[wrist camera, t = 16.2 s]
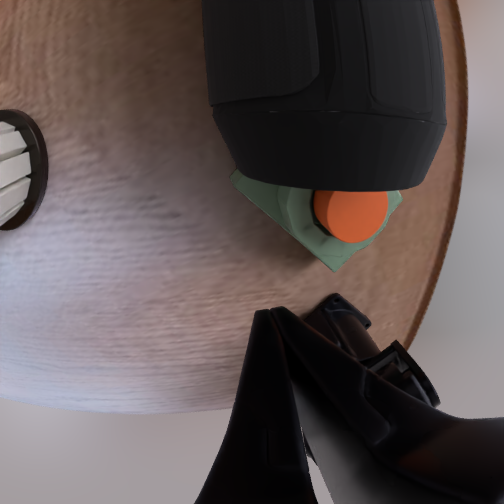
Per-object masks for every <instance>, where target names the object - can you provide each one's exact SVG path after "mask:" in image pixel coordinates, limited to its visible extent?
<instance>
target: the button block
mask: <svg viewBox="0 0 504 504" xmlns="http://www.w3.org/2000/svg"><path fill="white" fill-rule="evenodd" d="M230 180H231V182H232V184H233V186H234V187H235V188H236V189H237V190H238V191H239V192H241V193H242V194H243V195H244V196H246V197H247V198H248V199H249V200H250V201H252V202H253V203H254V204H255V205H256V206H258V207H259V208H260V209H261V210H262V211H264V212H265V213H266V214H267V215H268V216H270V217H271V218H272V219H273V220H274V221H276V222H277V223H278V224H279V225H280V226H281V227H283V228H284V229H285V230H286V231H287V232H288V233H290V234H291V235H292V236H293V237H294V238H295V239H297V240H298V241H299V242H300V243H301V244H302V245H303V246H305V247H306V248H307V249H308V250H309V251H310V252H311V253H313V254H314V255H315V256H316V257H317V258H318V259H319V260H321V261H322V262H323V263H324V264H325V265H326V266H327V267H328V268H330V269H331V270H332V271H333V272H336V271H337V270H338V269H339V268H340V267H341V266H342V265H343V264H344V263H345V262H346V261H347V260H348V259H349V258H350V257H351V256H352V255H353V254H354V253H355V252H356V251H358V250H360V249H363V248H365V247H366V246H368V245H369V244H370V243H371V242H372V241H373V239H374V238H375V237H376V236H377V235H378V234H379V233H380V232H381V231H382V230H383V229H384V228H385V226H386V224H387V221H388V219H389V216H390V214H391V213H392V212H393V211H394V210H395V208H396V207H397V206H398V205H399V204H400V203H401V202H402V200H403V198H402V196H401V195H400V193H399V192H398V190H397V191H386V192H387V196H388V210H387V214H386V217H385V220H384V222H383V224H382V225H381V227H380V228H379V229H378V231H377V232H376V233H375V234H374V235H372V236H371V237H370V238H368V239H366V240H364V241H362V242H358V243H346V242H342V241H340V240H338V239H337V238H336V237H334V236H333V235H332V234H331V233H330V232H329V231H328V230H327V229H326V228H325V227H324V226H323V225H322V224H321V223H320V222H319V220H318V219H317V217H316V215H315V212H314V207H313V199H314V193H315V190H311V189H300V188H293V187H286V186H279V185H273V184H268V183H264V182H260V181H257V180H253V179H250V178H248V177H246V176H244V175H243V174H242V173H240V172H239V170H238V168H237V169H236V170H235V171H234V173H233V174H232V175H231V176H230Z"/></svg>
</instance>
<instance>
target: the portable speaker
mask: <svg viewBox="0 0 504 504" xmlns="http://www.w3.org/2000/svg"><path fill="white" fill-rule="evenodd" d="M202 16H203V31H204V46H205V59H206V72H207V84H208V96H209V104H210V106H212V107H213V115H212V116H213V118H214V121H215V123H216V125H217V127H218V129H219V131H220V133H221V135H222V137H223V139H224V141H225V143H226V145H227V147H228V149H229V151H230V153H231V156H232V158H233V160H234V162H235V164H236V166H237V168H238V170H239V172H240V173H242V174H243V175H244V176H246V177H248V178H250V179H253V180H257V181H260V182H264V183H268V184H273V185H279V186H286V187H293V188H300V189H311V190H322V191H342V192H384V191H397V190H403V189H409V188H412V187H415V186H417V185H419V184H420V183H421V182H422V181H423V180H424V178H425V176H426V174H427V172H428V169H429V167H430V165H431V163H432V161H433V159H434V156H435V154H436V152H437V150H438V147H439V145H440V143H441V140H442V137H443V135H444V132H445V129H446V125H447V120H446V112H445V111H446V95H445V72H444V61H443V52H442V44H441V37H440V31H439V25H438V20H437V15H436V10H435V6H434V1H433V0H202Z"/></svg>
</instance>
